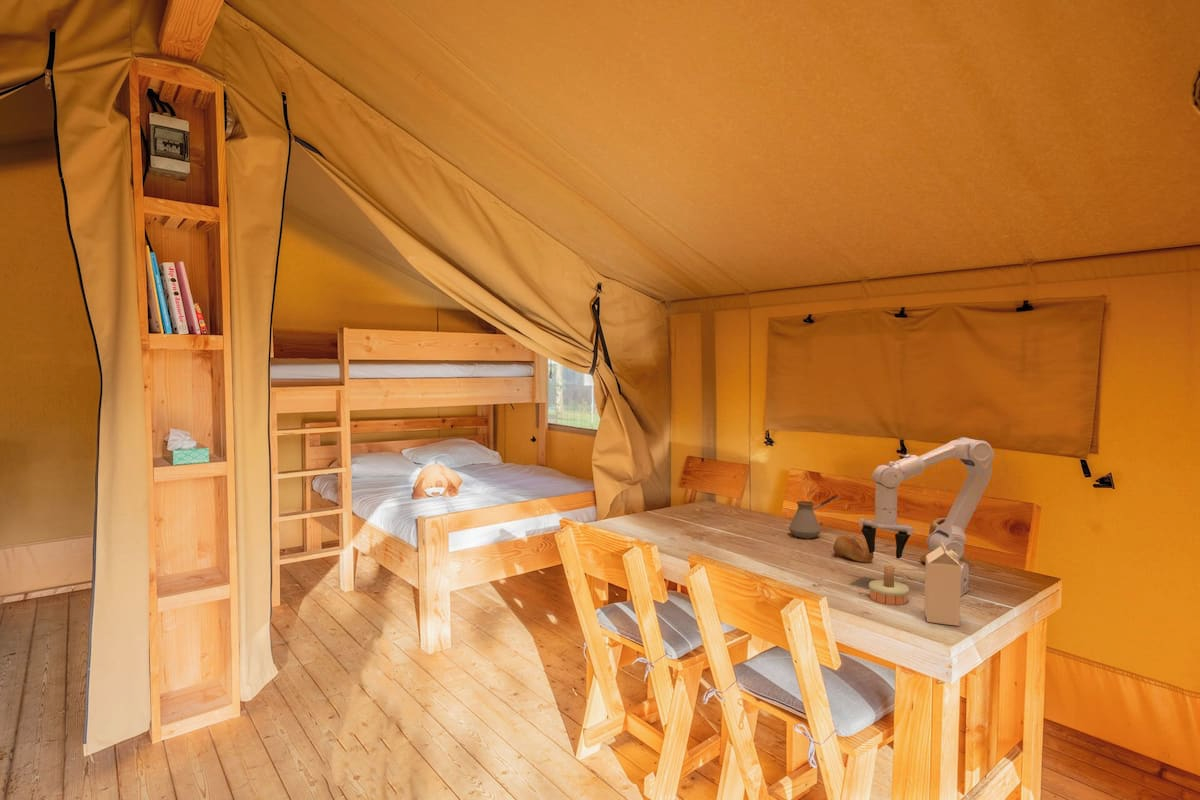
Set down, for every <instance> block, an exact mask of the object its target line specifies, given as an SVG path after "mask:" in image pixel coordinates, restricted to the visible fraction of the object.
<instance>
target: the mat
mask: <svg viewBox="0 0 1200 800" xmlns="http://www.w3.org/2000/svg"><path fill="white" fill-rule="evenodd" d="M874 580H878V579H877V578H876V579H875V578H871V577H867V576H863V577H861V578H859V579H857V580H855V581H853V582H850V583H849V585H850V586H851V585H852V586H854V587H858V588H859V587H860V588H862V589H867V590H870V588H869V582H871V581H874Z"/></svg>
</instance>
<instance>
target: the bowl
mask: <svg viewBox="0 0 1200 800" xmlns="http://www.w3.org/2000/svg"><path fill="white" fill-rule="evenodd" d="M869 598H870V600H872V601H874V602H876V603H879V604H883V605H888V606H889V605H890V606H901V605H905V604H906V603H907V602H908V594H907V595H902V596H892V595H885V594H880V593H877V592H874V591H872V590H871V589H869Z"/></svg>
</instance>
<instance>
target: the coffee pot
mask: <svg viewBox="0 0 1200 800" xmlns="http://www.w3.org/2000/svg"><path fill="white" fill-rule="evenodd" d="M838 497H839V498H841V496H840V495H838V494H835V495H833V496H831V497H829V498H827V499H826V500H824V501H822V502H820V503H818V505H816V506H814V505H815V503H814V502H813V501H807V500H799V501H796V502H795V503H796V504H797V510H796V511H795V513H794V516H793V517H792V521H791V522H790V524H789V527H788V530H789V532H790V533H791V534H792V535H793V536H794V537H795V536H796V537H795V538H797V537H799V539H802V538H805V540H810V539H811V538H813V539H815V538H816V537H817V536H818V535H819V534H821V531H822V529H821V527H820V524H819V521H818V520H817V517H816V515H815V512H814V511H815V510H817V509H818V508H820V507H822V506H824V505H826V504H828V503H830V502H832V500H835V498H836V499H837V500H839V498H838ZM813 506H814V507H813Z"/></svg>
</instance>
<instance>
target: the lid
mask: <svg viewBox="0 0 1200 800" xmlns="http://www.w3.org/2000/svg"><path fill="white" fill-rule="evenodd" d="M869 588H870V589H871V590H872V591H874V592H877V593H880V594H885V595H892V596H902V595H907V596H908V594H910V587H909V586H908V585H906V584H905V583H902V582H899V581H895V567H893V566H889V565H888V566H887V565H884V566H883V579H877V580H874V581H871V582H869ZM870 589H869V590H870Z"/></svg>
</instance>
